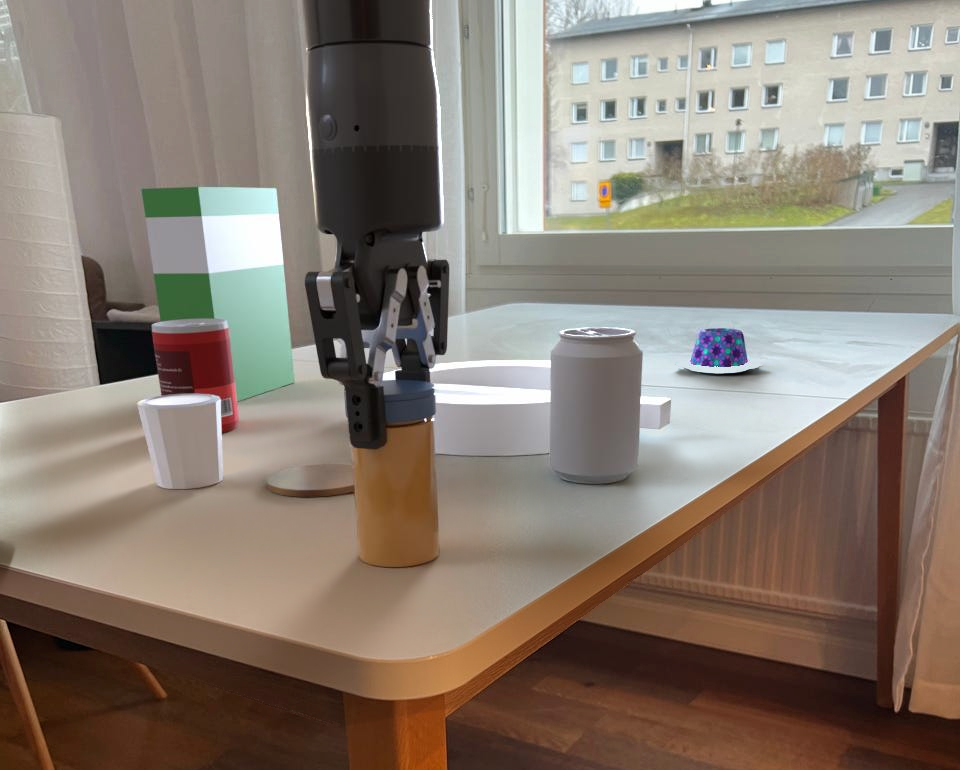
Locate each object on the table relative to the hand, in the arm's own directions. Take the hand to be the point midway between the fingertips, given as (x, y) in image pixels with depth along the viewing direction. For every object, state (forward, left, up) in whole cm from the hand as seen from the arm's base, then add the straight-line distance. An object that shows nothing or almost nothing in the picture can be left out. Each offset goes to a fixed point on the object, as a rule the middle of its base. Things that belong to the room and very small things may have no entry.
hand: (393, 436), depth 63 cm
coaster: (-4, +21, -8) cm, 23 cm away
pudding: (+53, +68, -8) cm, 86 cm away
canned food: (-15, +48, -8) cm, 51 cm away
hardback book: (-12, +71, -8) cm, 72 cm away
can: (+19, +17, -8) cm, 26 cm away
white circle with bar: (+16, +40, -8) cm, 44 cm away
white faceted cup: (-15, +25, -8) cm, 30 cm away
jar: (0, 0, -8) cm, 8 cm away
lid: (0, 0, +3) cm, 3 cm away
